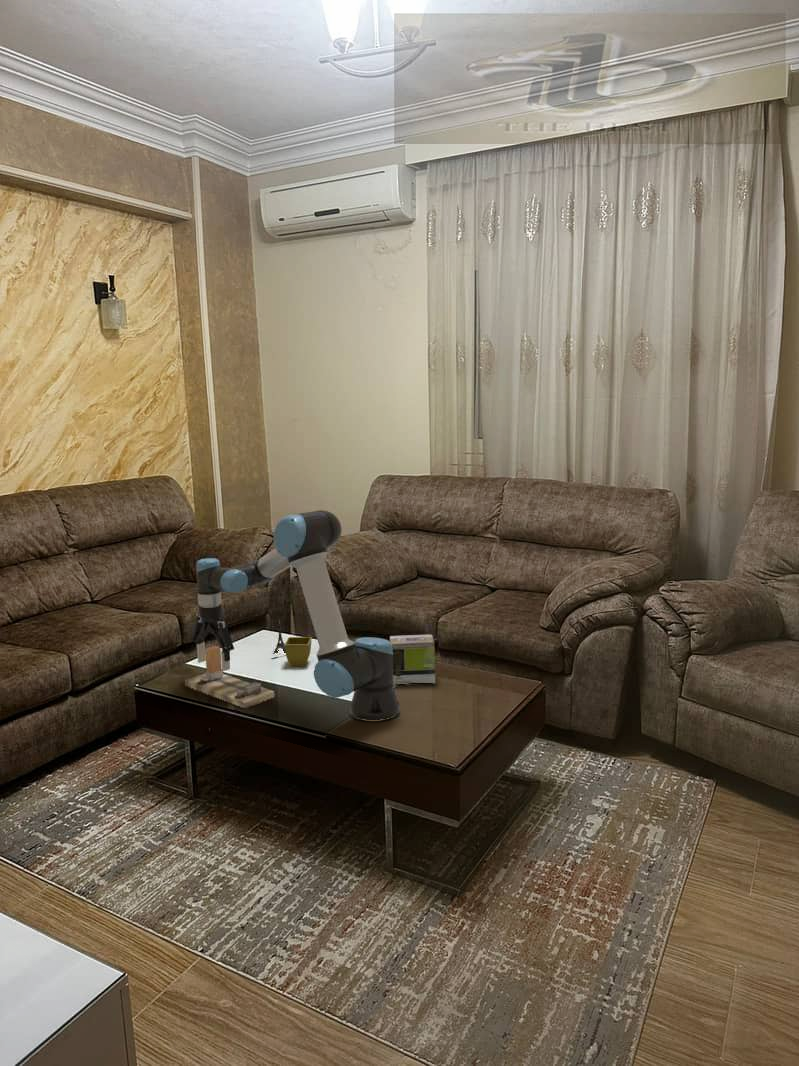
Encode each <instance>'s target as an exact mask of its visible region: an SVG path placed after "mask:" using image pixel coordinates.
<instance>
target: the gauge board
mask: <svg viewBox="0 0 799 1066" xmlns="http://www.w3.org/2000/svg"><path fill="white" fill-rule="evenodd" d="M202 675H204V676H206V675H205V673H203V674H202ZM184 685H185V687H187V686H188V688H189V687H190V689H192V688H193V689H192V690H195V691H197V690H198V692H200V691H201V692H200V693H202V692H203V694H205V693H206V695H208V694H209V695H208V696H210V695H211V697H213V698H216V699H218V698H219V700H221V699H222V700H221V701H223V700H224V702H226V701H227V703H229V702H230V703H229V704H231V703H232V704H231V705H234V706H237V707H239V706H240V707H239V708H242V709H244V708H245V709H247V708H251V707H253V706H256V705H258V704H261V703H264V702H266V701H269V700H271V698H272V699H274V698H275V691H274V690H271V689H268V688H265V687H262V683H259V682H256V681H253V682H251V683H250V682H248V681H245V680H242V679H239V678H237V677H233V676H230V675H228V674H225V673H223V677H221V678H218V679H215V680H212V681H211V680H208V679H207V680H204V682H202V683H201V682H200V675H197V676H194V677H191V678H188V679H185V680H184ZM273 697H274V698H273ZM268 699H269V700H268ZM263 701H264V702H263ZM250 706H251V707H250Z"/></svg>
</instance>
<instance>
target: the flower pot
mask: <svg viewBox="0 0 799 1066" xmlns="http://www.w3.org/2000/svg"><path fill="white" fill-rule="evenodd" d="M312 639H313V638H312V636H292V637H291V636H290V637H287V639H286V641H285V642H284V643H285V651H286V655H285V657H286V659H287V662H288V663H289V665H290V666H291V667H304V666H305V667H306V666H307V663H308V660H309V658H310V654H311V649H312Z"/></svg>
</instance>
